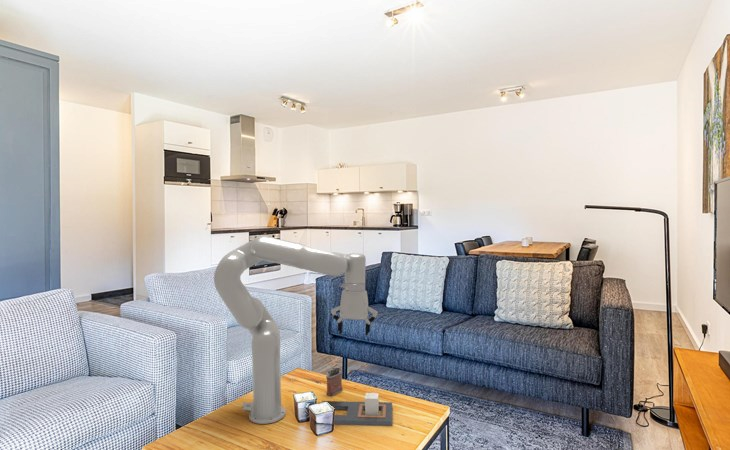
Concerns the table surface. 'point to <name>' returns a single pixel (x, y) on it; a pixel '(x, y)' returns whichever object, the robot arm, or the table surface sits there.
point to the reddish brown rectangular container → (334, 381)
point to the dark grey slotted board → (361, 414)
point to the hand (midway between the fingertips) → (353, 333)
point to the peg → (372, 404)
